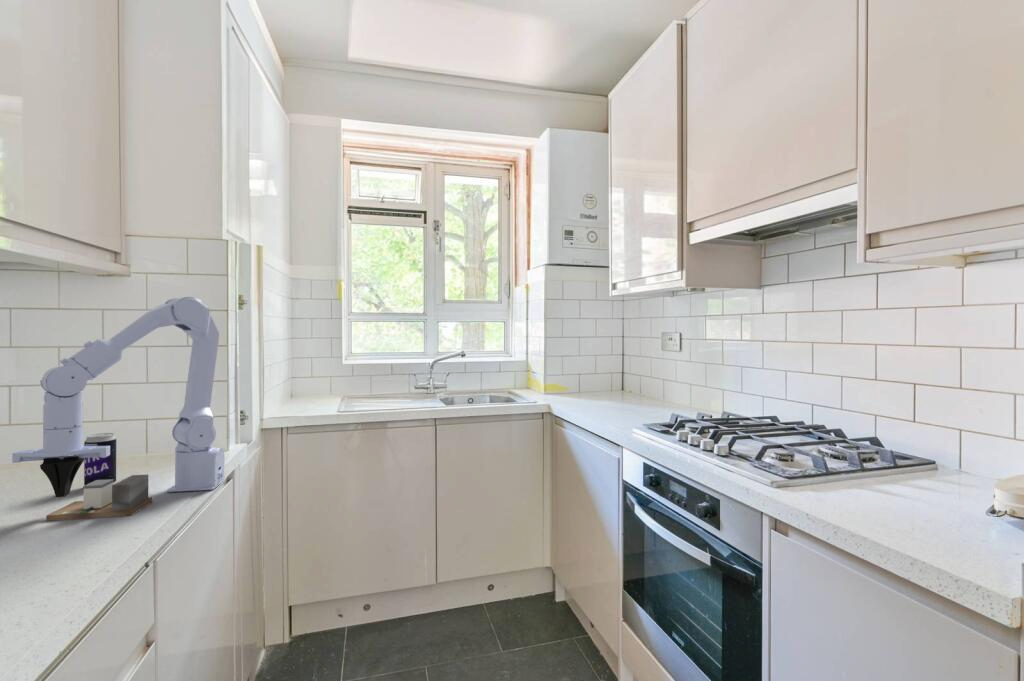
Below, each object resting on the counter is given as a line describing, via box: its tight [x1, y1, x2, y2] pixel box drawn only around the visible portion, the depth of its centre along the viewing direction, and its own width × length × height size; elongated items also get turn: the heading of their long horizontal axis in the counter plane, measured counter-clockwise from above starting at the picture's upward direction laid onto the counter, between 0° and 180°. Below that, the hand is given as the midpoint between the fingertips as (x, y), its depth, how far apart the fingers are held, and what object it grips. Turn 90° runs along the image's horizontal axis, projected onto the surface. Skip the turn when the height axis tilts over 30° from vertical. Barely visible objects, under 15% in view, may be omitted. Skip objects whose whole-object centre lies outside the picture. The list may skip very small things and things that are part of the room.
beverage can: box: [83, 432, 117, 486], centre depth 112 cm, size 6×6×12 cm
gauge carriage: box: [82, 479, 115, 511], centre depth 96 cm, size 3×6×4 cm, turn 12°
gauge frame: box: [46, 474, 153, 522], centre depth 97 cm, size 14×8×6 cm, turn 102°
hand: (62, 495), depth 95 cm, fingers closed
